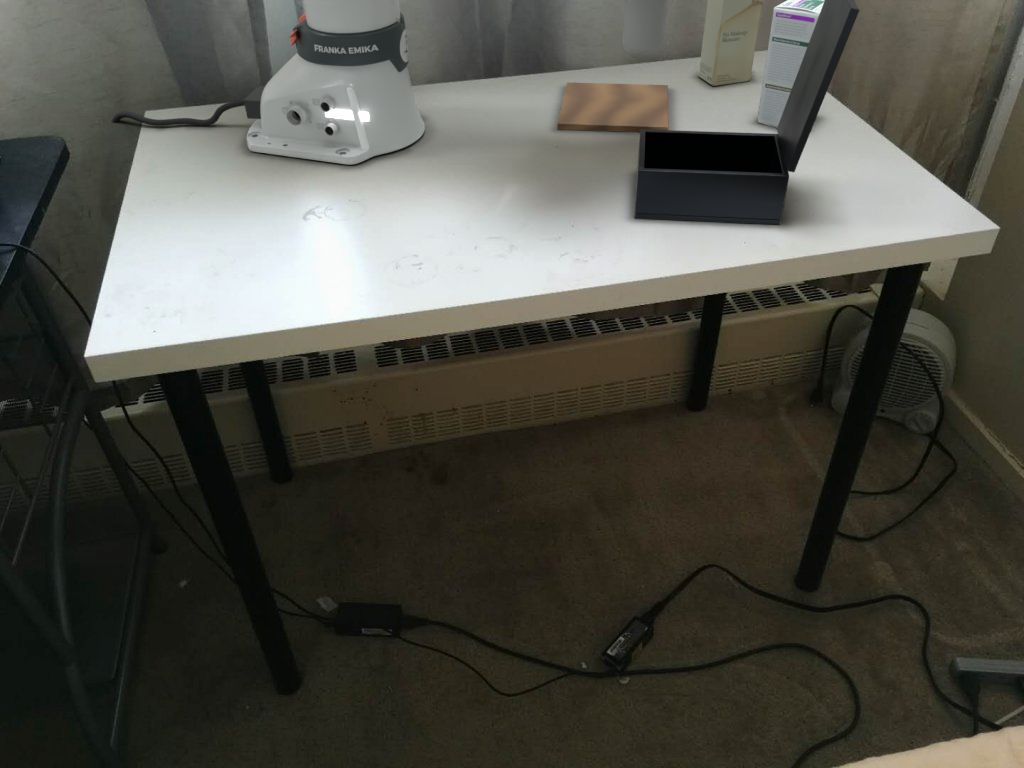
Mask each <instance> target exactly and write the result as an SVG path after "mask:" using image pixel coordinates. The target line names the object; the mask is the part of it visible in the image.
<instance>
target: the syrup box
mask: <svg viewBox="0 0 1024 768" xmlns="http://www.w3.org/2000/svg"><path fill="white" fill-rule="evenodd" d="M824 1H825V0H785V1H782V2H781V3H779V4H777V5H775V6H774V7H773V12H772V19H771V25H770V33H769V38H768V45H767V52H766V58H765V65H764V72H763V79H762V87H761V93H760V99H759V106H758V112H757V120H756V121H757V123H758V124H762V125H765V126H767V127H772V128H776V129H777V127H778V124H779V122H780V119H781V116H782V114H783V111H784V108H785V106H786V103H787V100H788V98H789V95H790V92H791V89H792V87H793V84H794V81H795V79H796V76H797V73H798V71H799V68H800V65H801V63H802V60H803V57H804V55H805V52H806V49H807V47H808V44H809V41H810V39H811V36H812V33H813V31H814V28H815V25H816V23H817V20H818V17H819V15H820V12H821V9H822V7H823V4H824Z"/></svg>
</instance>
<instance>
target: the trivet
mask: <svg viewBox="0 0 1024 768" xmlns="http://www.w3.org/2000/svg"><path fill="white" fill-rule="evenodd" d="M556 126H557V127H556V128H557V130H562V131H563V130H564V131H565V130H567V131H595V132H596V131H597V132H625V133H626V132H627V133H640V130H641V129H643V130H669V85H668V84H643V83H642V84H641V83H640V84H639V83H606V82H605V83H600V82H599V83H598V82H566V85H565V89H564V93H563V98H562V102H561V106H560V110H559V115H558V120H557V125H556Z"/></svg>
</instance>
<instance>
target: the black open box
mask: <svg viewBox="0 0 1024 768" xmlns="http://www.w3.org/2000/svg"><path fill="white" fill-rule="evenodd" d="M638 139H639V140H638V141H639V142H638V153H637V168H636V182H635V183H636V184H635V201H634V219H640V220H667V221H686V222H687V221H688V222H709V223H711V222H712V223H729V224H730V223H732V224H735V223H736V224H752V225H753V224H757V225H775V226H776V225H777V226H779V225H781V219H782V215H783V210H784V206H785V200H786V196H787V190H788V185H789V181H790V173H789V171H787V170H786V165H785V161H784V157H783V153H782V149H781V144H780V140H779V136H778V133H763V132H762V133H761V132H732V131H702V130H701V131H699V130H697V131H696V130H674V129H673V130H672V129H671V130H669V129H668V130H643V129H641V130H640V132H639V138H638Z"/></svg>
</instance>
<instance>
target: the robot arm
mask: <svg viewBox="0 0 1024 768" xmlns="http://www.w3.org/2000/svg"><path fill="white" fill-rule="evenodd" d="M302 4H303V8H304V9H303V10H304V12H303V14H302V15H301V16H300V17H299V18H298V23H297V24H296V25H295V26H294V27H293V28H292V32H291V34H290V35H289V36H288V39H290V42H289V43H290V44H289V45H290V46H292V47H293V46H294V45H295V47H296V50H297V51H296V53H295V54H294V55H293V56H292V57H290V59H289V60H288V61H287V62H286V63H285V64H283V66H282V67H281V68H280V69H279V70H278V71H277V72H276V73H274V75H273V76H272V77H271V78H270V79H269V80H268V81H267V83H266V84H265V85H258V86H257V87H256V88H255V89H254V90H253V91H252V92H250V93H249V94H248V95H247V96H246V97H244V98H243V99H238V100H237V99H236V100H233V101H229V102H226V103H224V104H221V105H220V106H219V107H217V108H216V110H215V111H214V113H213V115H212V116H211V117H209V118H207V119H199V118H191V117H178V118H177V117H176V118H167V119H165V118H164V119H154V118H149V117H146V116H143V115H140V114H138V113H135V112H132V111H124V110H123V111H119V112H117V113H116V114H115V115H114V116H113V117H112V119H111V123H113V124H115V123H119V122H120V120H122V119H125V118H127V119H131V120H134V121H137V122H139V123H142V124H145V125H148V126H155V127H158V126H159V127H160V126H161V127H163V126H176V125H177V126H178V125H192V126H200V127H206V126H212V125H213V124H216V123H217V122H218V121H219V119H220V117H221V116H222V115H223V113H225V112H227V111H229V110H231V109H234V108H238V107H244V109H245V113H246V117H247V119H252V120H253V119H255V121H254V122H253V123H252V124H251V125H250V127H249V128H248V131H247V134H246V143H247V148H248V149H249V151H250V152H254V153H259V154H260V153H262V154H267V155H275V156H283V157H290V158H295V159H296V158H298V159H305V160H311V161H320V162H327V163H334V164H341V165H351V166H352V165H358V164H360V163H362V162H365V161H367V160H369V159H371V158H373V157H377V156H380V155H384V154H388V153H392V152H395V151H399V150H401V149H404V148H406V147H408V146H410V145H412V144H414V143H415V142H417V141H418V140H419V139H421V137H422V136H423V135H424V133H425V131H426V124H425V123H424V120H423V118H422V115H421V112H420V110H419V107H418V104H417V100H416V97H415V94H414V90H413V86H412V85H413V84H412V81H411V78H410V73H409V67H408V64H409V62H410V61H409V60H410V50H409V49H410V48H409V39H408V38H409V37H408V31H407V28H406V22H405V21H406V20H405V16H404V14H403V13H402V12H401V9H400V0H302Z"/></svg>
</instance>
